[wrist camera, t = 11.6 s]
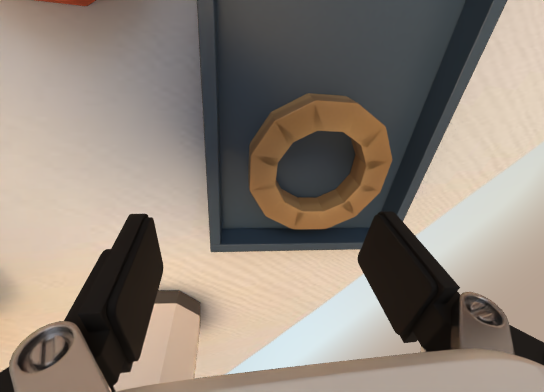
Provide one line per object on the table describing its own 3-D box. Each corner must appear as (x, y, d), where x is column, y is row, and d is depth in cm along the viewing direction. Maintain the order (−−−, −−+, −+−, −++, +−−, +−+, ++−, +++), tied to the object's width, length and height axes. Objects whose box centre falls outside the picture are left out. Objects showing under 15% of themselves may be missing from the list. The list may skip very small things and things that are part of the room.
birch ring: (251, 88, 16) (253, 95, 14) (395, 99, 17) (413, 106, 15) (246, 214, 21) (247, 230, 19) (356, 214, 22) (366, 229, 21)
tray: (180, -483, 7) (157, -693, 5) (601, -317, 10) (705, -417, 8) (213, 230, 22) (210, 252, 20) (376, 229, 25) (390, 249, 22)
